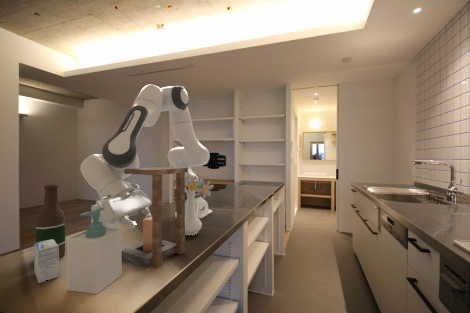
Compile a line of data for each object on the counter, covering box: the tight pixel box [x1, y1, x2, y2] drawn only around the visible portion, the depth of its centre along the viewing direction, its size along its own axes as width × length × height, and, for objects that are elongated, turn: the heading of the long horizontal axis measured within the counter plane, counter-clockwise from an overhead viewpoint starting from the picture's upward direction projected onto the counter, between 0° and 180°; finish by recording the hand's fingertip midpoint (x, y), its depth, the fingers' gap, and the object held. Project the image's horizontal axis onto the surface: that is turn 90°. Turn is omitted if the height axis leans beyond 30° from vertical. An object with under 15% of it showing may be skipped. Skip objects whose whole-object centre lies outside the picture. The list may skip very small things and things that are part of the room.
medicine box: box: [33, 239, 60, 284], centre depth 60 cm, size 8×4×9 cm, turn 48°
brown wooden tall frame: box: [122, 166, 188, 269], centre depth 72 cm, size 14×16×29 cm
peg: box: [142, 217, 152, 253], centre depth 72 cm, size 4×4×12 cm
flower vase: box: [172, 176, 215, 237], centre depth 93 cm, size 13×18×25 cm
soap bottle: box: [66, 208, 123, 295], centre depth 56 cm, size 9×9×19 cm
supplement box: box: [90, 204, 119, 229], centre depth 94 cm, size 7×7×13 cm
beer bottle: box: [35, 183, 66, 260], centre depth 71 cm, size 8×8×24 cm
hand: (143, 223), depth 73 cm, fingers open, 8 cm apart
